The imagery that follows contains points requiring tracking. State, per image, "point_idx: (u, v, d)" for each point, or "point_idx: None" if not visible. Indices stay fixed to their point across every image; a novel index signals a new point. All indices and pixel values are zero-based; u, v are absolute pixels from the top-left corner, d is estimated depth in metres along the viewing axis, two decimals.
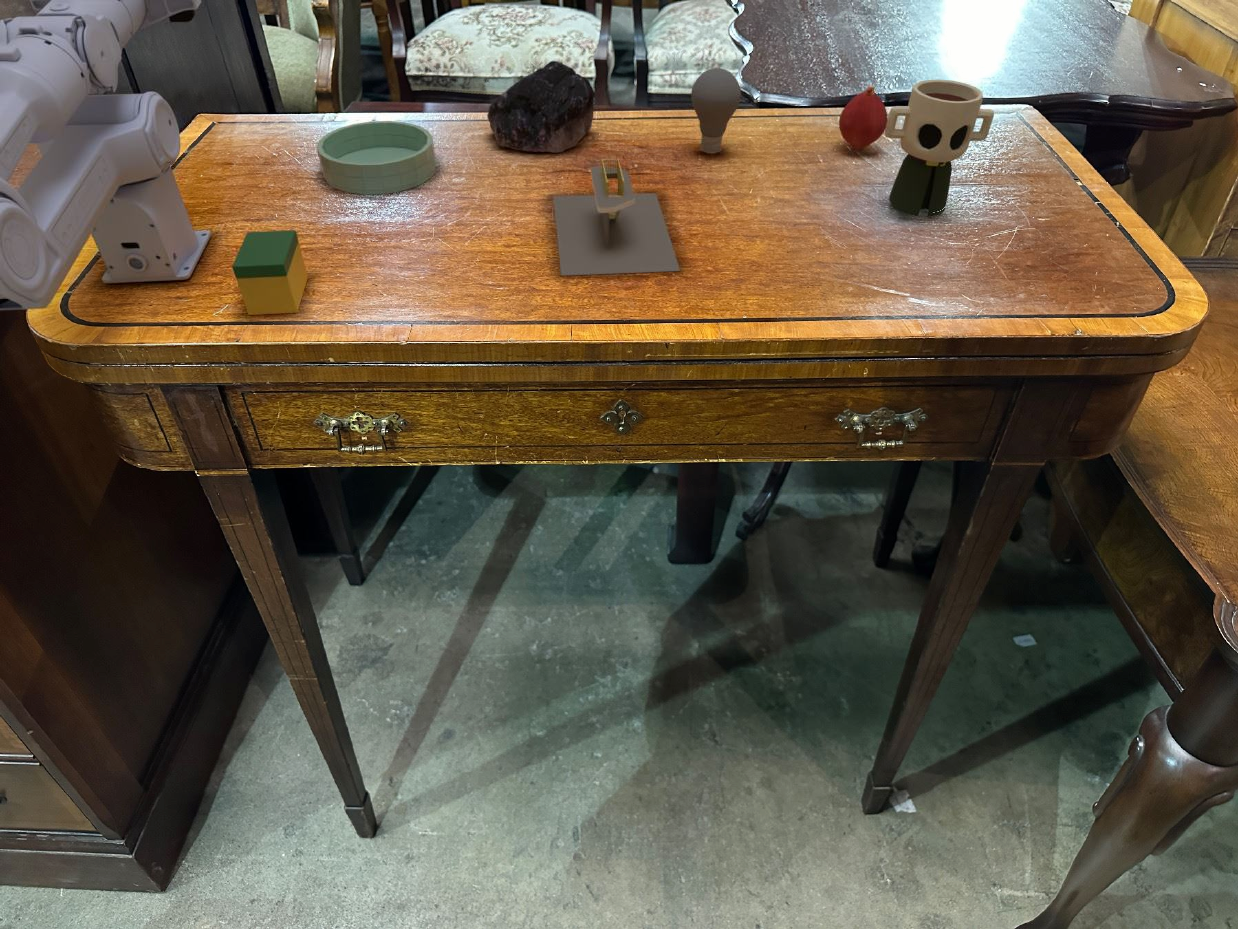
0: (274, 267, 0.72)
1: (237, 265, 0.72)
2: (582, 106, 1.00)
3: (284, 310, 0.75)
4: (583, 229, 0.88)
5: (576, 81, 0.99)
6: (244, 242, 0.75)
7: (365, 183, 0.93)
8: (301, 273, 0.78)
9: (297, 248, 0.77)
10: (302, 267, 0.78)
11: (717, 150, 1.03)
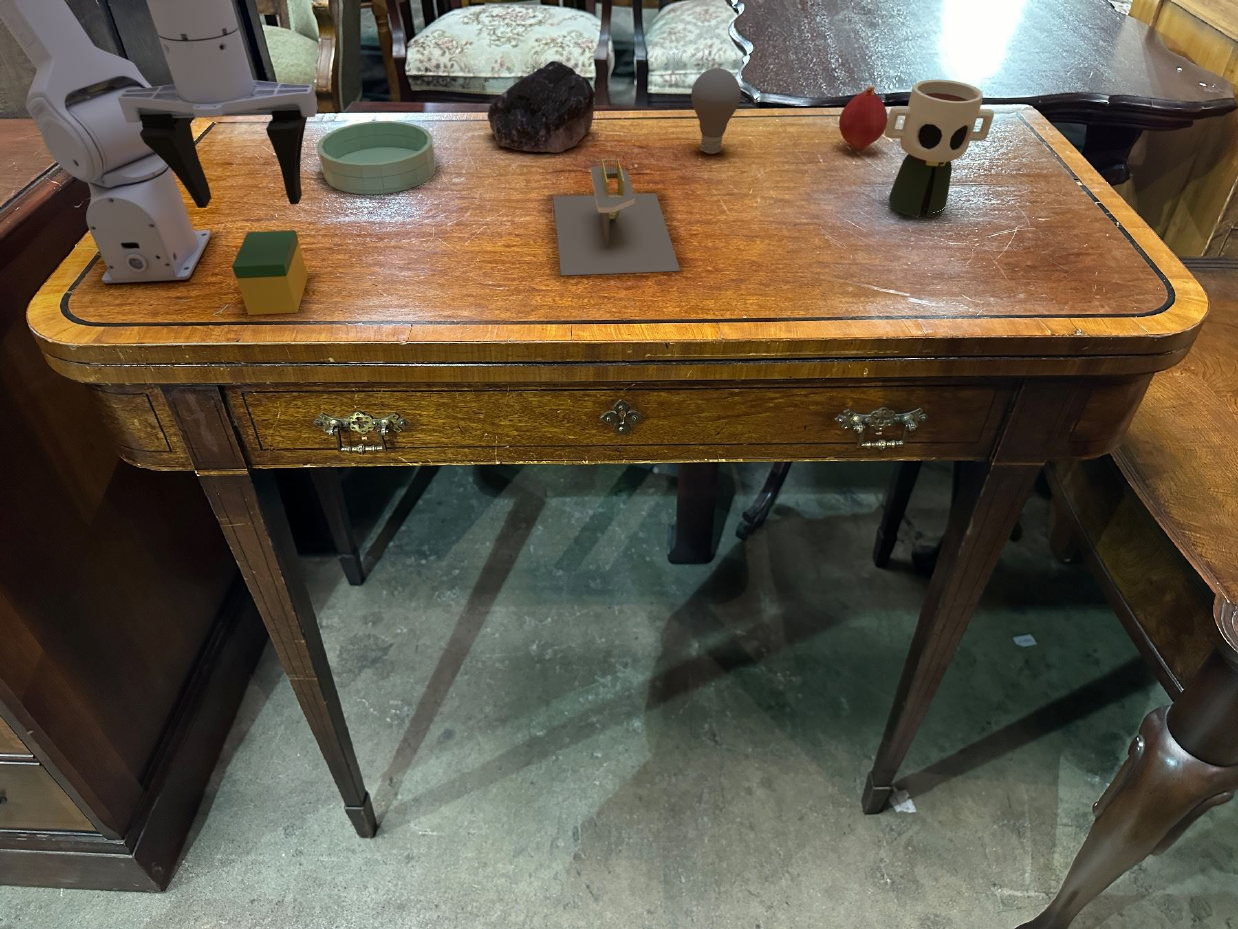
0: (274, 267, 0.72)
1: (237, 265, 0.72)
2: (582, 106, 1.00)
3: (284, 310, 0.75)
4: (583, 229, 0.88)
5: (576, 81, 0.99)
6: (244, 242, 0.75)
7: (365, 183, 0.93)
8: (301, 273, 0.78)
9: (297, 248, 0.77)
10: (302, 267, 0.78)
11: (717, 150, 1.03)
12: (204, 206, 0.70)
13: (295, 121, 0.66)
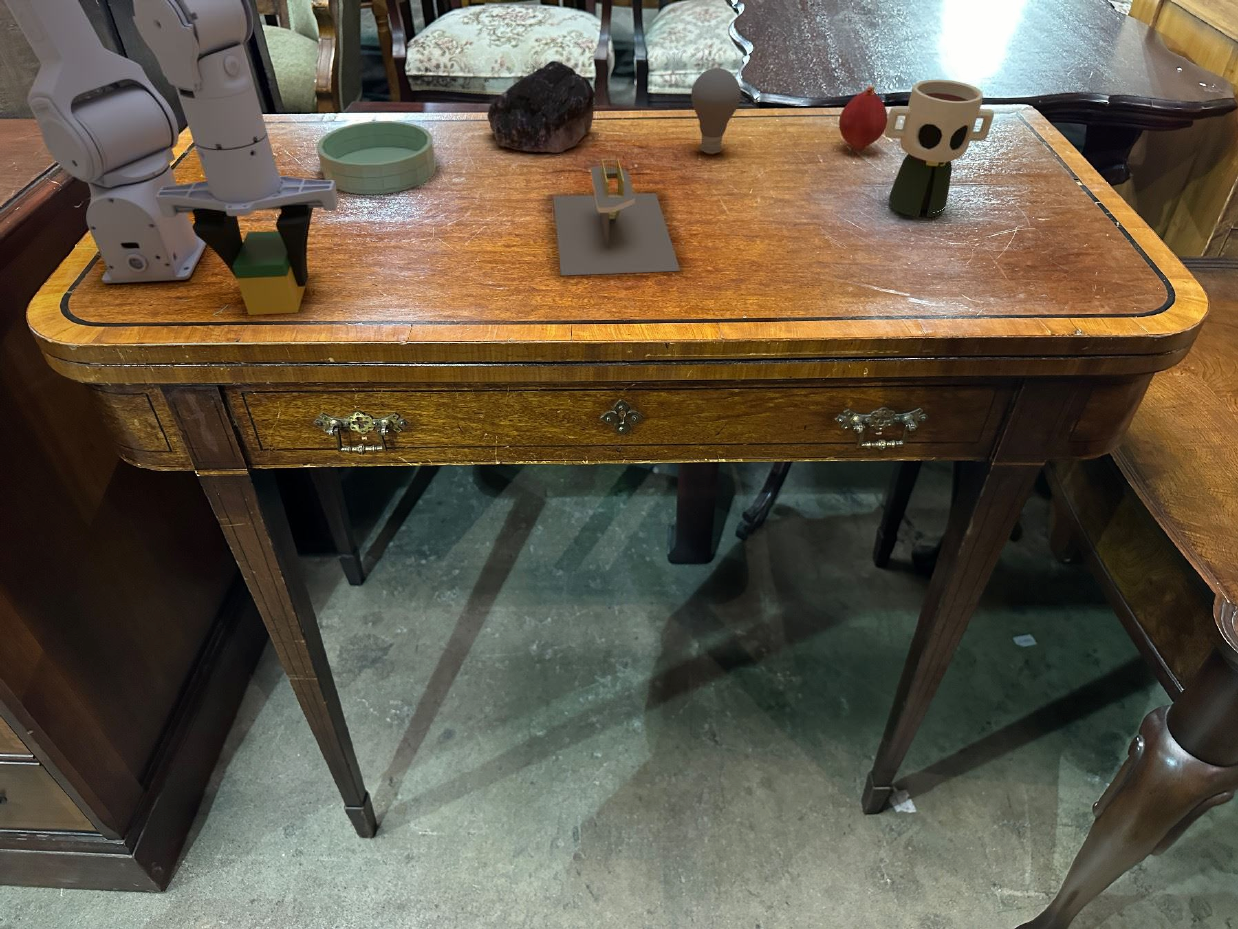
0: (274, 267, 0.72)
1: (238, 265, 0.72)
2: (582, 106, 1.00)
3: (285, 310, 0.75)
4: (583, 229, 0.88)
5: (576, 81, 0.99)
6: (244, 242, 0.75)
7: (365, 183, 0.93)
8: None
9: None
10: None
11: (717, 150, 1.03)
12: None
13: (302, 215, 0.71)
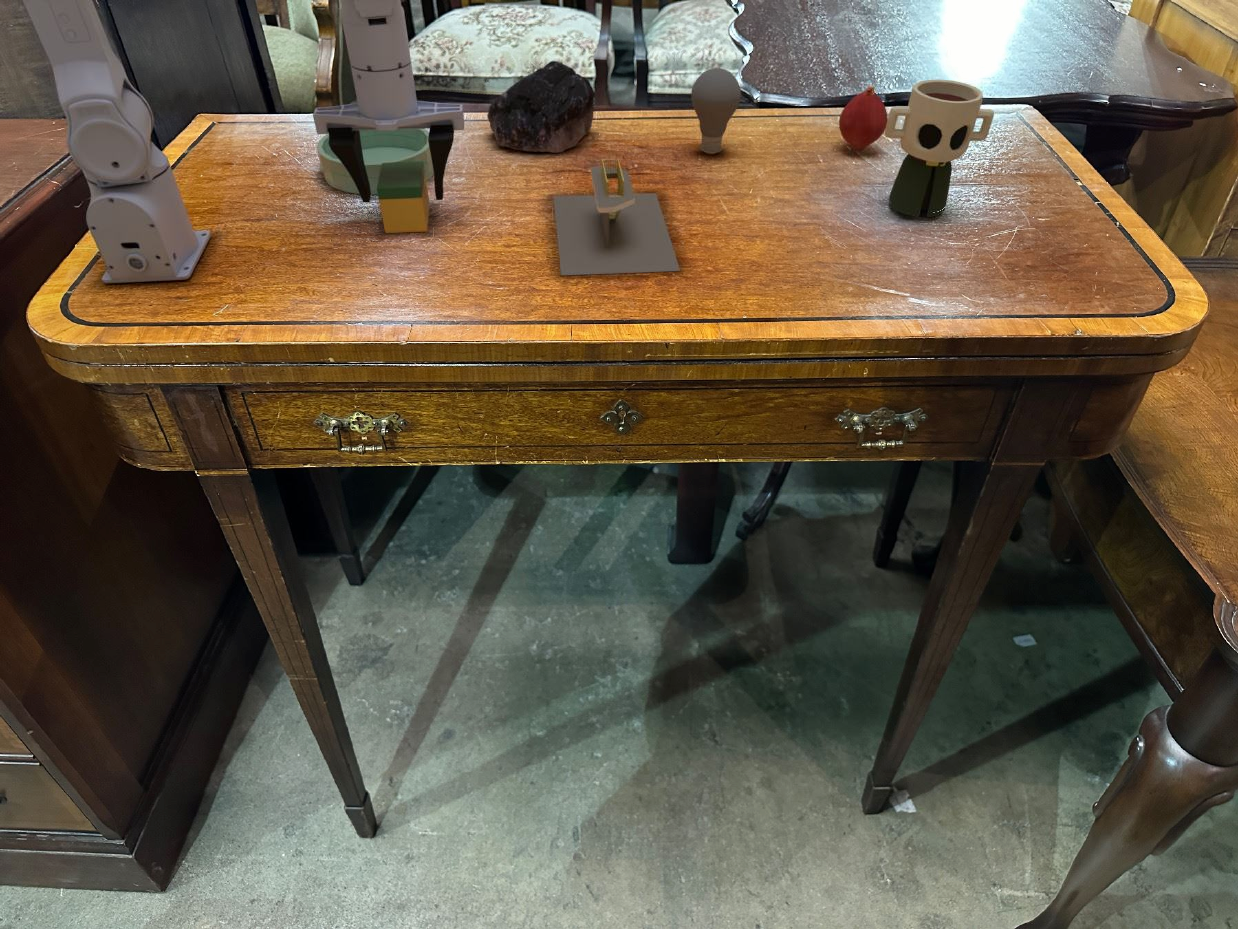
0: (412, 189, 0.84)
1: (381, 187, 0.84)
2: (582, 106, 1.00)
3: (416, 229, 0.87)
4: (583, 229, 0.88)
5: (576, 81, 0.99)
6: (382, 170, 0.87)
7: None
8: (427, 199, 0.90)
9: (424, 177, 0.89)
10: (427, 194, 0.90)
11: (717, 150, 1.03)
12: (368, 201, 0.87)
13: (449, 133, 0.83)
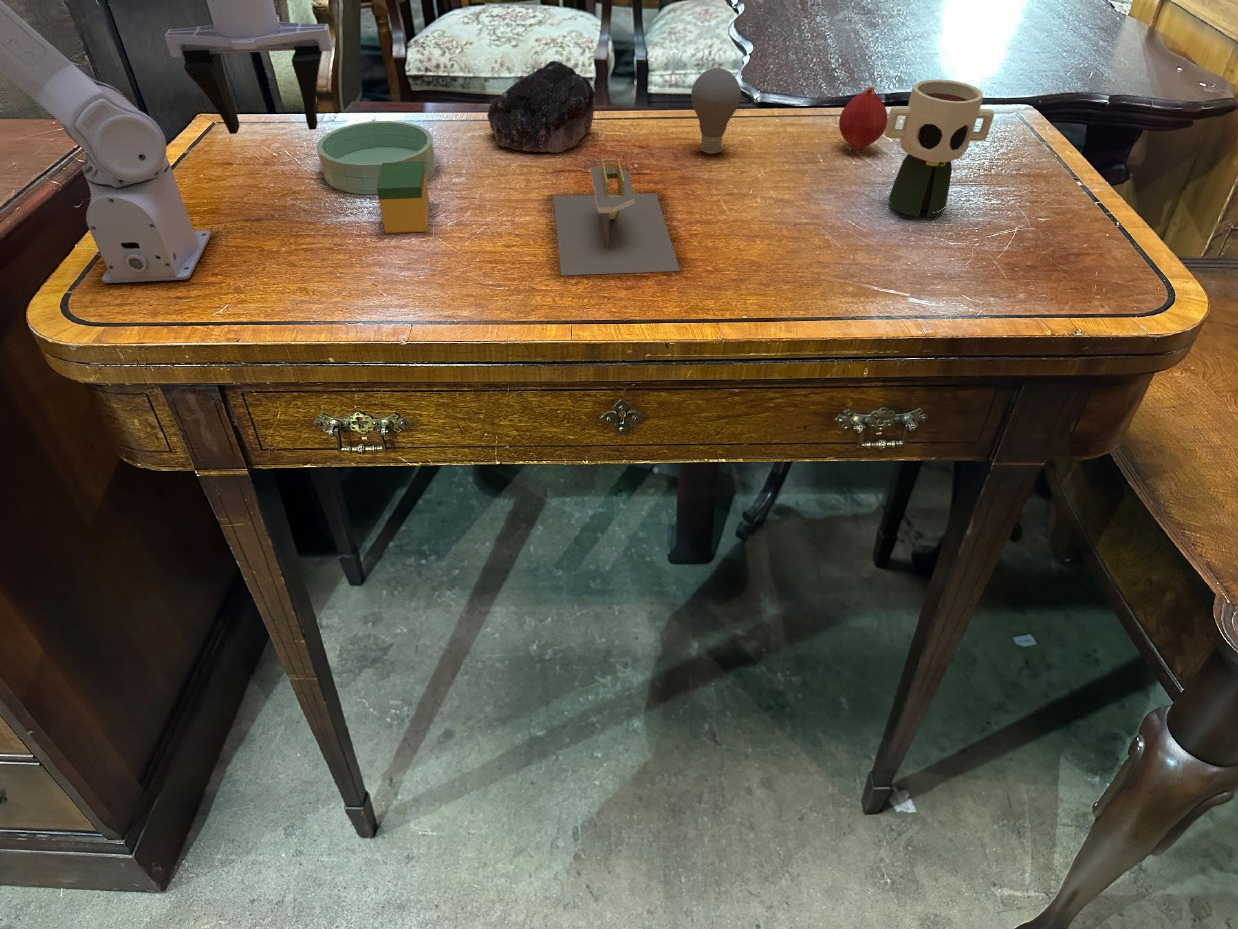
0: (412, 189, 0.84)
1: (381, 187, 0.84)
2: (582, 106, 1.00)
3: (416, 229, 0.87)
4: (583, 229, 0.88)
5: (576, 81, 0.99)
6: (382, 170, 0.87)
7: (365, 183, 0.93)
8: (427, 199, 0.90)
9: (424, 177, 0.89)
10: (427, 194, 0.90)
11: (717, 150, 1.03)
12: (235, 132, 0.82)
13: (315, 54, 0.78)
